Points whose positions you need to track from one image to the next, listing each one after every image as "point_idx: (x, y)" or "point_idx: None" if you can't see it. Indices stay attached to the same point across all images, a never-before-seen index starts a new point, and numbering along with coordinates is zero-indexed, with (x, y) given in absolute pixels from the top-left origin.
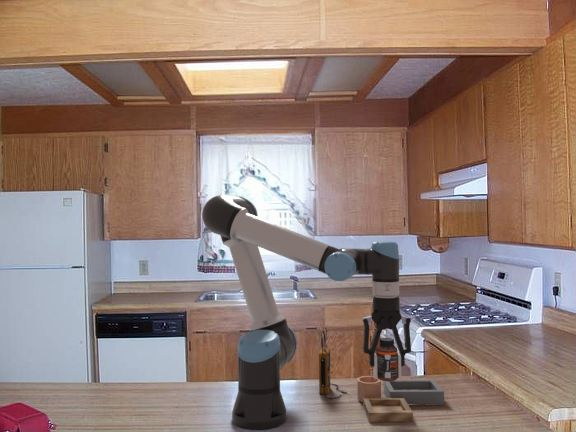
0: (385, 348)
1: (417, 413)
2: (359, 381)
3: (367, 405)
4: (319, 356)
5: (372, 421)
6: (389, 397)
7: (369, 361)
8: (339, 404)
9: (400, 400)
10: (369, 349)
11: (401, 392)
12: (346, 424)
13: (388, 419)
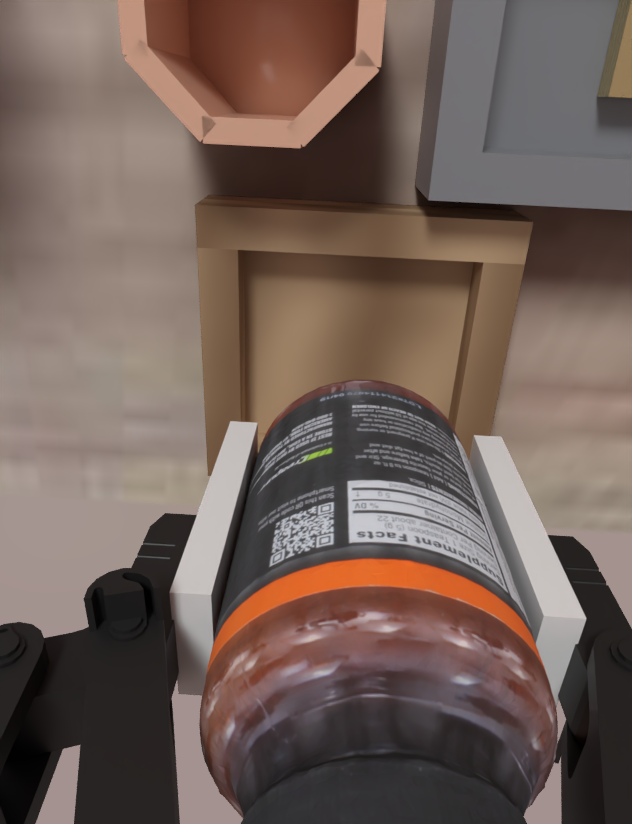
0: None
1: (551, 347)
2: (140, 67)
3: (213, 366)
4: None
5: None
6: (423, 175)
7: (143, 543)
8: (28, 142)
9: (480, 284)
10: (79, 722)
11: (532, 203)
12: (94, 467)
13: None
